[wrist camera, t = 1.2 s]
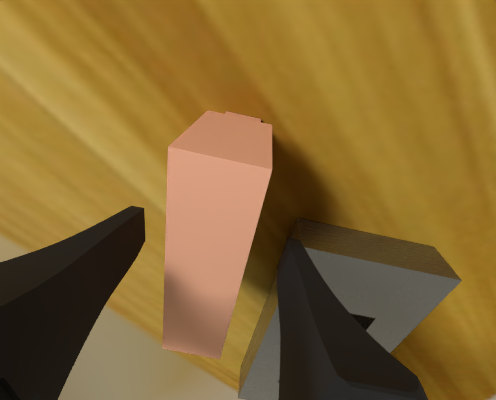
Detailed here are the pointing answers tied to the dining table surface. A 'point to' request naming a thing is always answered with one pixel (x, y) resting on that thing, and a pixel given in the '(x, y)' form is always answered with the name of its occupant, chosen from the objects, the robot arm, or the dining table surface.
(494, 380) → the dining table surface
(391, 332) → the rail
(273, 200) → the dining table surface
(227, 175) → the clip
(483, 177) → the dining table surface
